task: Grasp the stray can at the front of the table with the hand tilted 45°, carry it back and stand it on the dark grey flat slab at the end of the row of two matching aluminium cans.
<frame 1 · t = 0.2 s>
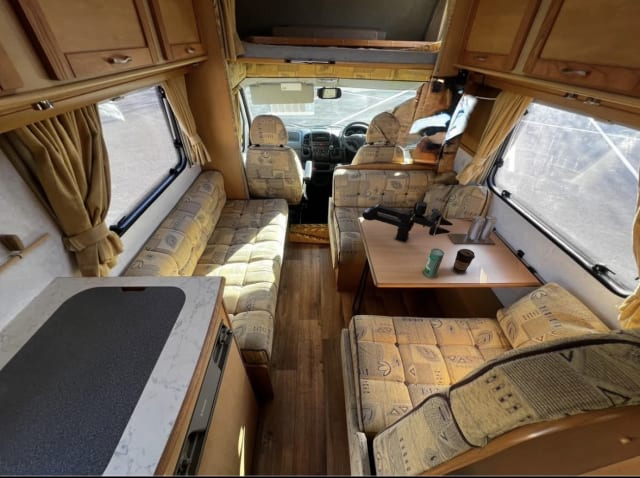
hand: (451, 228, 147), 17 cm above the table, tool horizontal, fingers open, 9 cm apart
coffee cup: (458, 271, 142), on the table
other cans: (470, 238, 166), resting on dark grey flat slab
can: (429, 274, 140), on the table
dark grey flat slab: (470, 239, 166), on the table
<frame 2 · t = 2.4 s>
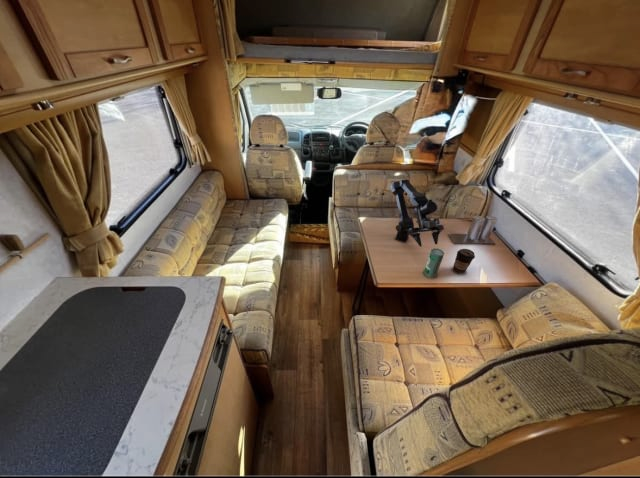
hand: (428, 245, 138), 13 cm above the table, tool tilted 45°, fingers open, 9 cm apart
nothing on the table moved.
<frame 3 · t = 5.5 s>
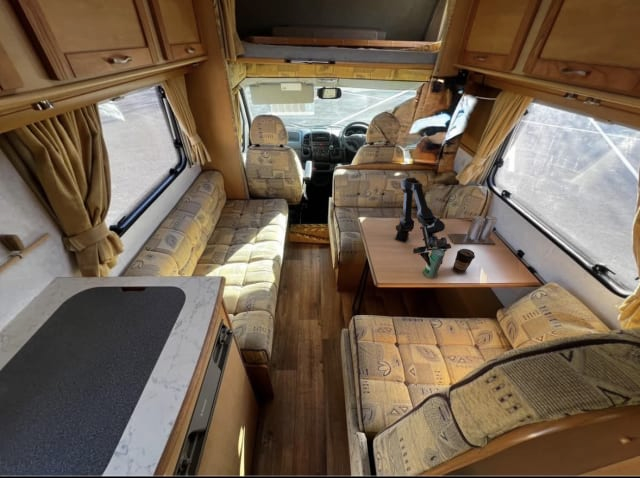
hand: (435, 264, 134), 8 cm above the table, tool tilted 45°, fingers closed on can, 6 cm apart
can: (429, 274, 140), on the table, touching gripper
everything else where it was.
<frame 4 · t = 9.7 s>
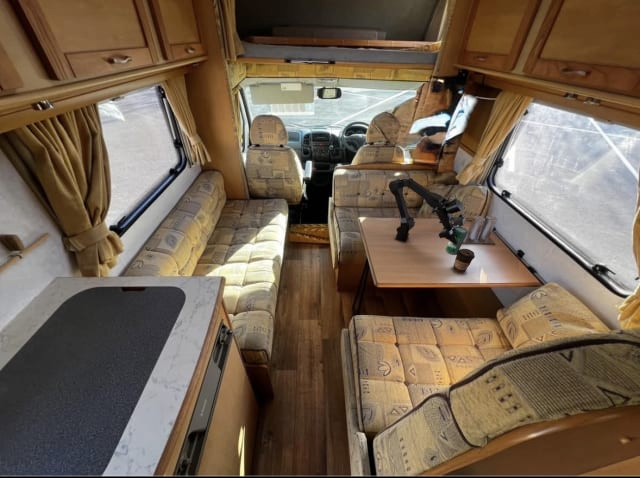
hand: (458, 241, 141), 13 cm above the table, tool tilted 45°, fingers closed on can, 6 cm apart
can: (451, 251, 146), point 6 cm above the table, touching gripper
everything else where it was.
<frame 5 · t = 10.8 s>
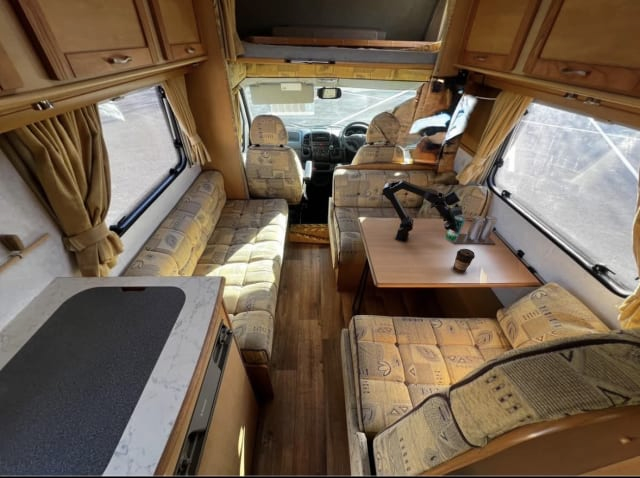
hand: (457, 229, 152), 13 cm above the table, tool tilted 45°, fingers closed on can, 6 cm apart
can: (450, 239, 156), point 6 cm above the table, touching gripper
everything else where it was.
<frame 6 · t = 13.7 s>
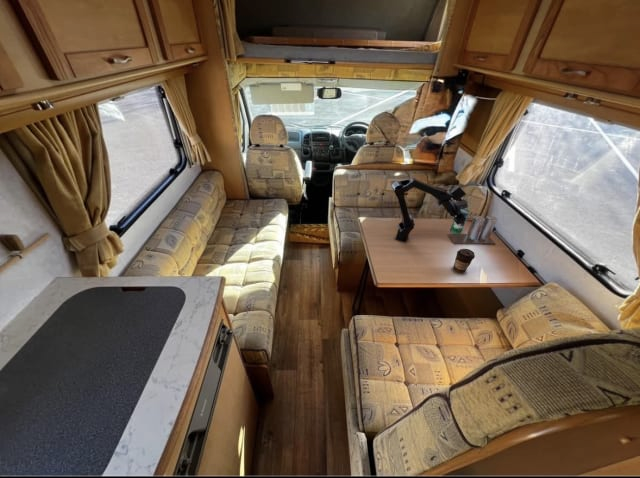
hand: (461, 221, 159), 13 cm above the table, tool tilted 45°, fingers closed on can, 6 cm apart
can: (455, 232, 163), point 6 cm above the table, touching gripper
everything else where it was.
when the fingers open (9 cm above the table, at t = 16.1 s): can stays where it is, resting on dark grey flat slab.
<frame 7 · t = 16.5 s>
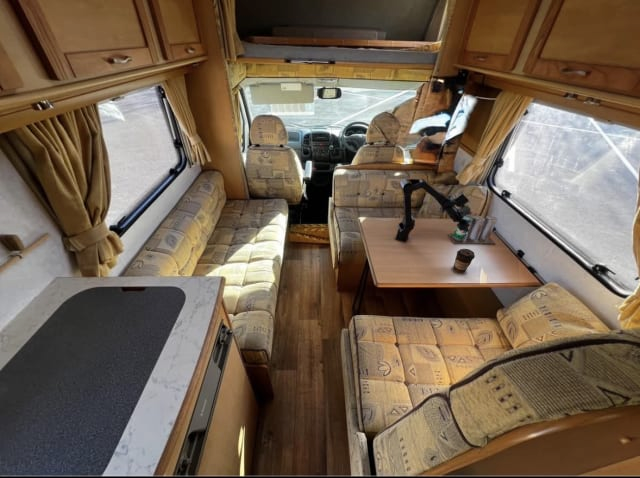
hand: (464, 227, 161), 9 cm above the table, tool tilted 45°, fingers open, 9 cm apart
can: (457, 238, 166), point 1 cm above the table, touching gripper, dark grey flat slab
everything else where it was.
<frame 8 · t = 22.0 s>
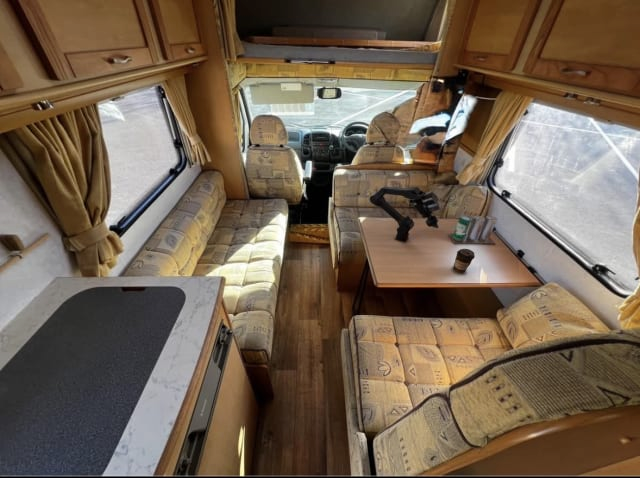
hand: (435, 223, 156), 14 cm above the table, tool tilted 45°, fingers open, 9 cm apart
can: (457, 238, 166), point 1 cm above the table, touching dark grey flat slab
everything else where it was.
at the end: can 0.3 cm from the target spot on the dark grey flat slab, point 1.0 cm above the dark grey flat slab's base; can 8.2 cm from the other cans (horizontally); can tilted 0° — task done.
